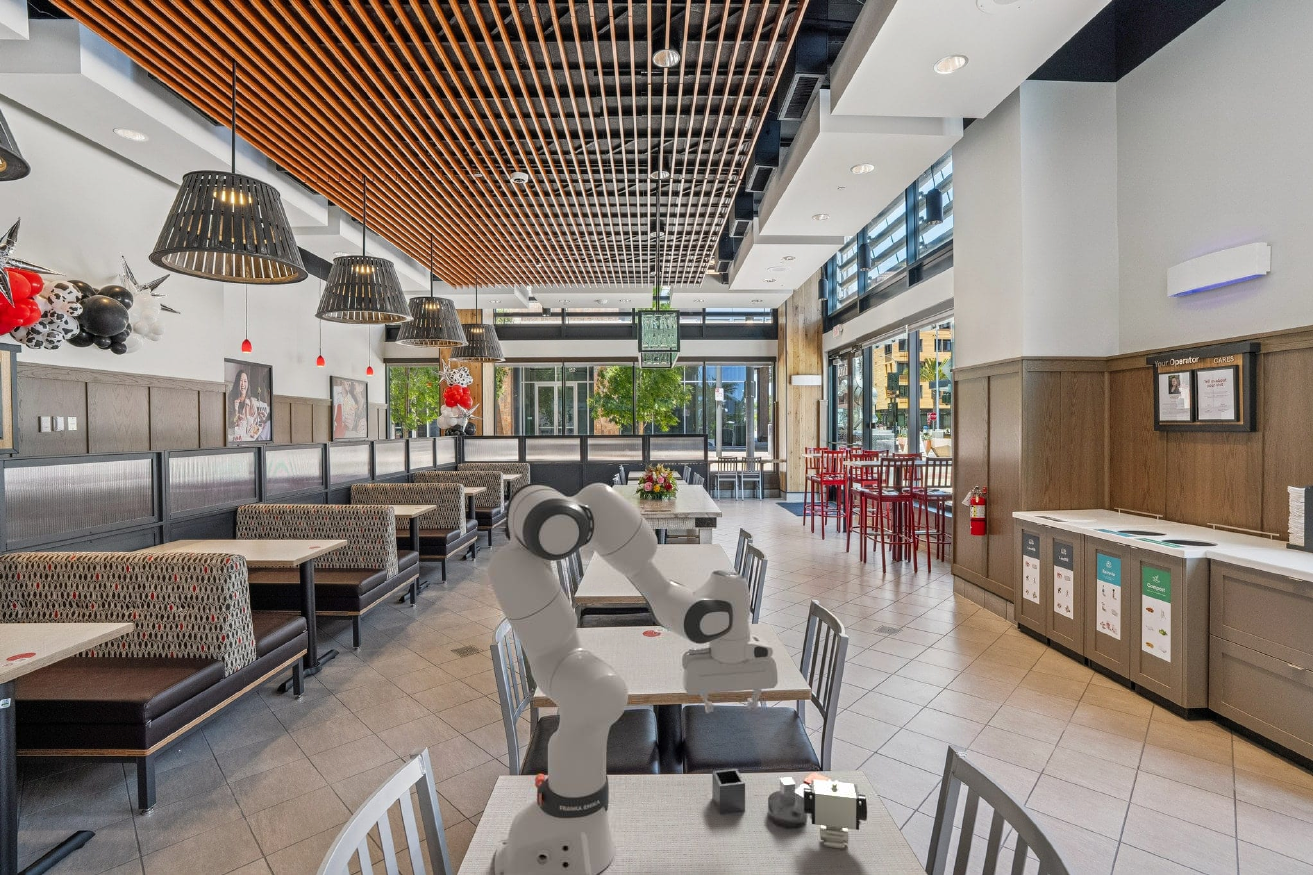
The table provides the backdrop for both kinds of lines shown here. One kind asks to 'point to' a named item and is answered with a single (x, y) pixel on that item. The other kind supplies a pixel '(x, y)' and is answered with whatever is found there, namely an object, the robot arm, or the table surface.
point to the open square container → (728, 791)
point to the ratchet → (790, 803)
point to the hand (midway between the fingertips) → (730, 709)
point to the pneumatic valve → (834, 810)
